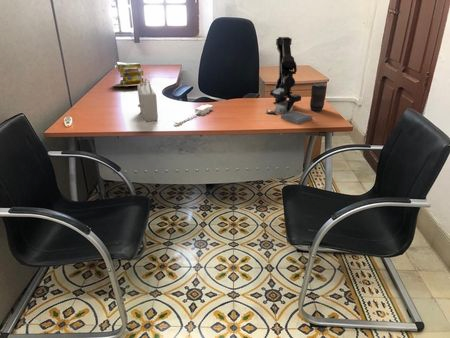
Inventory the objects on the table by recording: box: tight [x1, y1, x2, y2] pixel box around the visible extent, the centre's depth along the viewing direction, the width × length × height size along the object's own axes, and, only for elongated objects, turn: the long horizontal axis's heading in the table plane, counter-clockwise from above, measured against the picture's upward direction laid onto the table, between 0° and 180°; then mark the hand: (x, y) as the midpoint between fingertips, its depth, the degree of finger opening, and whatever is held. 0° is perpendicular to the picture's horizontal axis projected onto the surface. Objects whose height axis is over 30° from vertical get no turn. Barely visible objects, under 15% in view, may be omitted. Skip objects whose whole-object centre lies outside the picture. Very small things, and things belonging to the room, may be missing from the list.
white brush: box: [173, 104, 214, 126], centre depth 192 cm, size 5×32×3 cm, turn 148°
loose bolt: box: [265, 108, 277, 115], centre depth 197 cm, size 5×3×3 cm, turn 74°
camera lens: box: [309, 82, 327, 112], centre depth 201 cm, size 8×8×15 cm
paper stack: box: [112, 61, 148, 89], centre depth 245 cm, size 25×25×17 cm
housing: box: [275, 101, 294, 115], centre depth 199 cm, size 6×8×5 cm
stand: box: [280, 110, 313, 125], centre depth 190 cm, size 12×12×2 cm
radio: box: [136, 68, 159, 122], centre depth 187 cm, size 22×8×25 cm, turn 21°
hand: (284, 110), depth 200 cm, fingers closed on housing, 6 cm apart
